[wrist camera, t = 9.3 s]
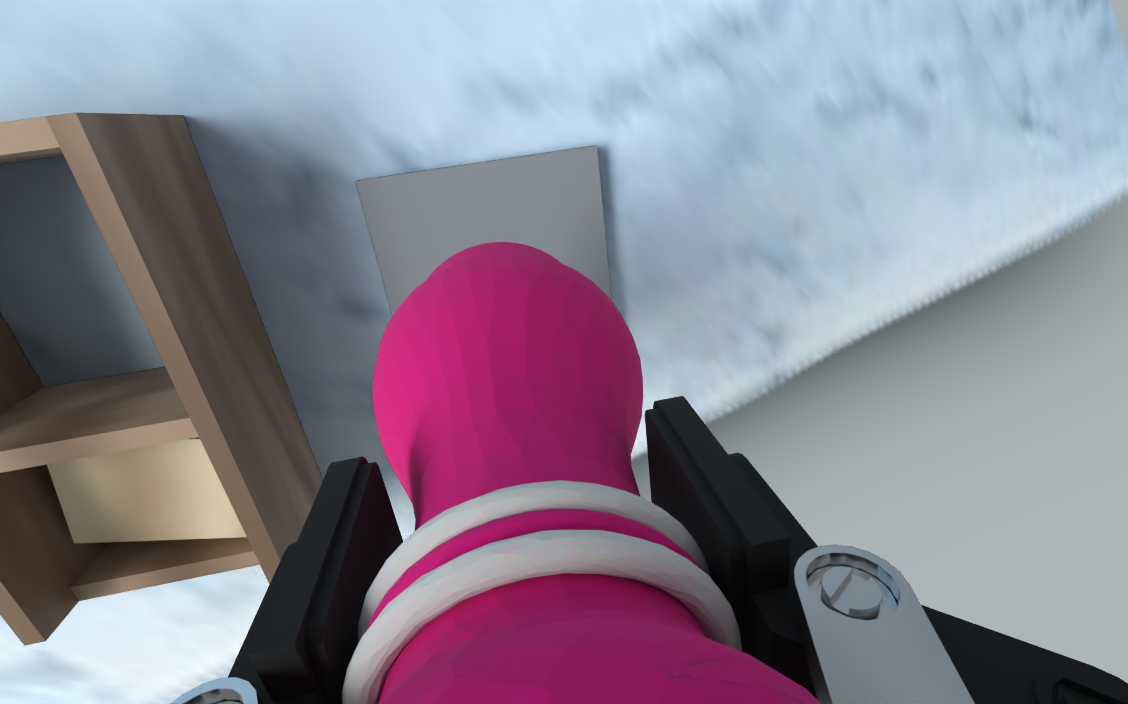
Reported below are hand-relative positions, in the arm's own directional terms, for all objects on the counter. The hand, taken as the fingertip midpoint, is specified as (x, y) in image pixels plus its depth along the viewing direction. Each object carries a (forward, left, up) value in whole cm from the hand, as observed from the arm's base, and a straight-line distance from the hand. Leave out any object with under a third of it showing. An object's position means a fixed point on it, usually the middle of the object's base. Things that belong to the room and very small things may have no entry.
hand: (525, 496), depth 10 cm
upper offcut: (+16, +6, -14) cm, 22 cm away
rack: (+16, +1, -16) cm, 23 cm away
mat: (0, 0, -16) cm, 16 cm away
